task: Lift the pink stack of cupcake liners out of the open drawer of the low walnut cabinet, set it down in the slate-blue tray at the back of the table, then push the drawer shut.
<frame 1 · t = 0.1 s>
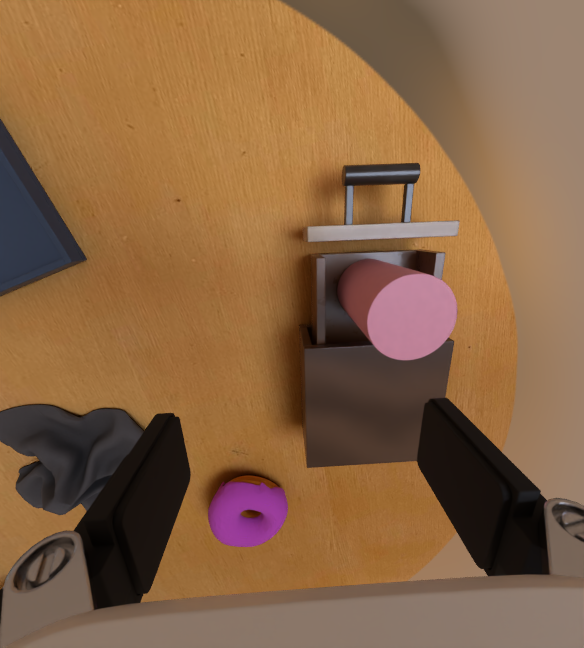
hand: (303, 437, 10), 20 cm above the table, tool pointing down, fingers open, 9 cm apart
cabinet: (357, 375, 33), on the table
donut: (249, 494, 38), on the table
drawer: (372, 269, 25), point 3 cm above the table, slide at 9.0 cm, touching liners
liners: (366, 289, 27), point 2 cm above the table, touching drawer
cloth: (80, 458, 35), on the table
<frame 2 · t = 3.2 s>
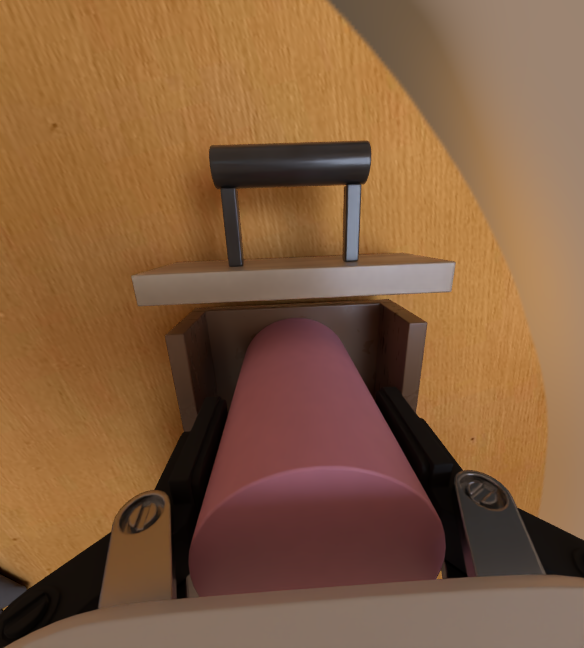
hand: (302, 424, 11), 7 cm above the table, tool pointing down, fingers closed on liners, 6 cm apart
drawer: (295, 341, 14), point 3 cm above the table, slide at 9.0 cm, touching liners
liners: (295, 366, 16), point 2 cm above the table, touching drawer, gripper
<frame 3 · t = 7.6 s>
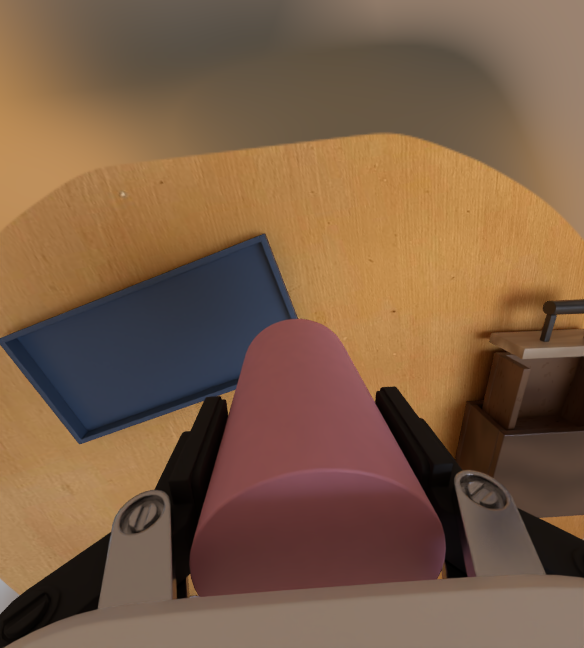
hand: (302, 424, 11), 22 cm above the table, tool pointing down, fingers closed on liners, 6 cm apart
tray: (168, 344, 33), on the table
cabinet: (504, 439, 39), on the table
drawer: (550, 369, 32), point 3 cm above the table, slide at 9.0 cm
liners: (296, 367, 16), point 17 cm above the table, touching gripper
when the fingers open (6 cm above the table, at t = 12.1 s): liners stays where it is, resting on tray.
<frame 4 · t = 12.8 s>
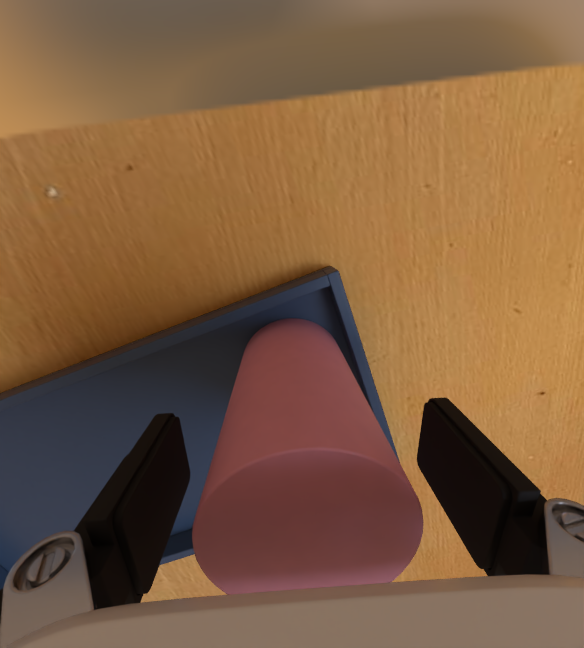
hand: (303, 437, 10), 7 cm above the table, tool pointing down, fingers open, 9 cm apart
tray: (151, 452, 19), on the table
liners: (292, 365, 17), point 1 cm above the table, touching tray
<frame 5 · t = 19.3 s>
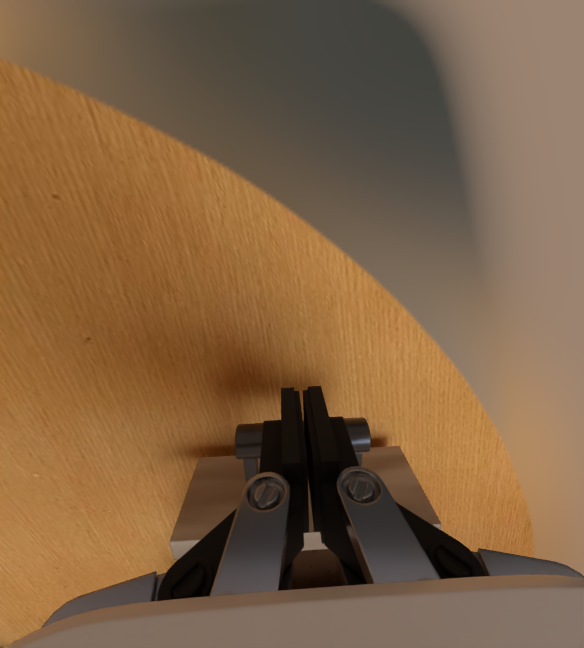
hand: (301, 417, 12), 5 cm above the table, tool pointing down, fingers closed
drawer: (304, 536, 16), point 3 cm above the table, slide at 7.9 cm, touching gripper
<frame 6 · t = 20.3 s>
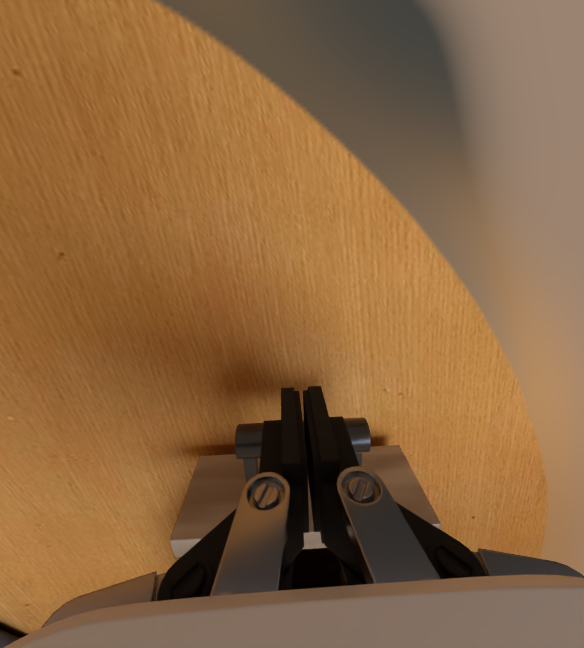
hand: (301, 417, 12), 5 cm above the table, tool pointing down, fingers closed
drawer: (304, 534, 16), point 3 cm above the table, slide at 3.5 cm, touching gripper
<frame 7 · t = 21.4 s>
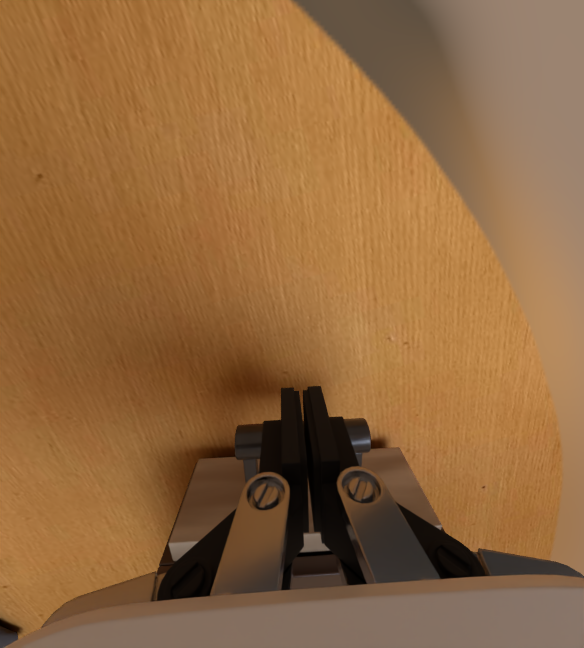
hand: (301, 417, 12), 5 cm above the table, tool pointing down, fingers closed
cabinet: (301, 528, 20), on the table
drawer: (304, 538, 16), point 3 cm above the table, slide at 0.0 cm, touching cabinet, gripper
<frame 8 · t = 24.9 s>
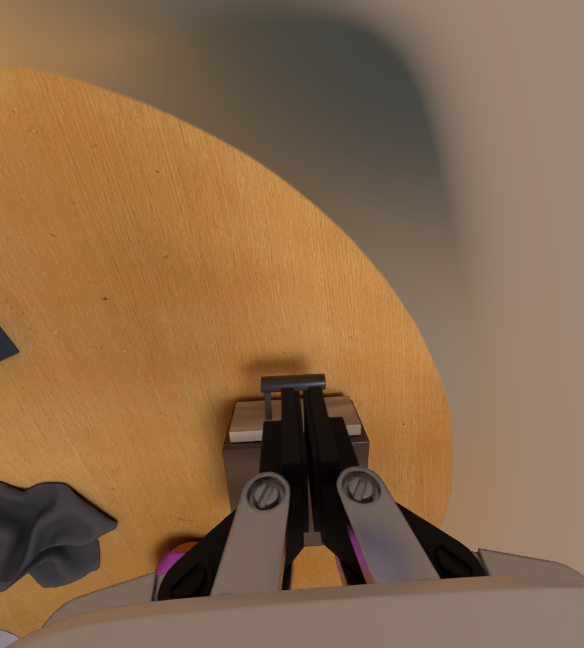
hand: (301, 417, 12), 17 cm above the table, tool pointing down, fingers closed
cabinet: (295, 450, 33), on the table
donut: (198, 556, 39), on the table
drawer: (295, 443, 29), point 3 cm above the table, slide at 0.0 cm, touching cabinet
cloth: (28, 526, 36), on the table
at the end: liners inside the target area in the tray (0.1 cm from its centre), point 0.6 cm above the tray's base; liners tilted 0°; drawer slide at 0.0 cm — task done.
